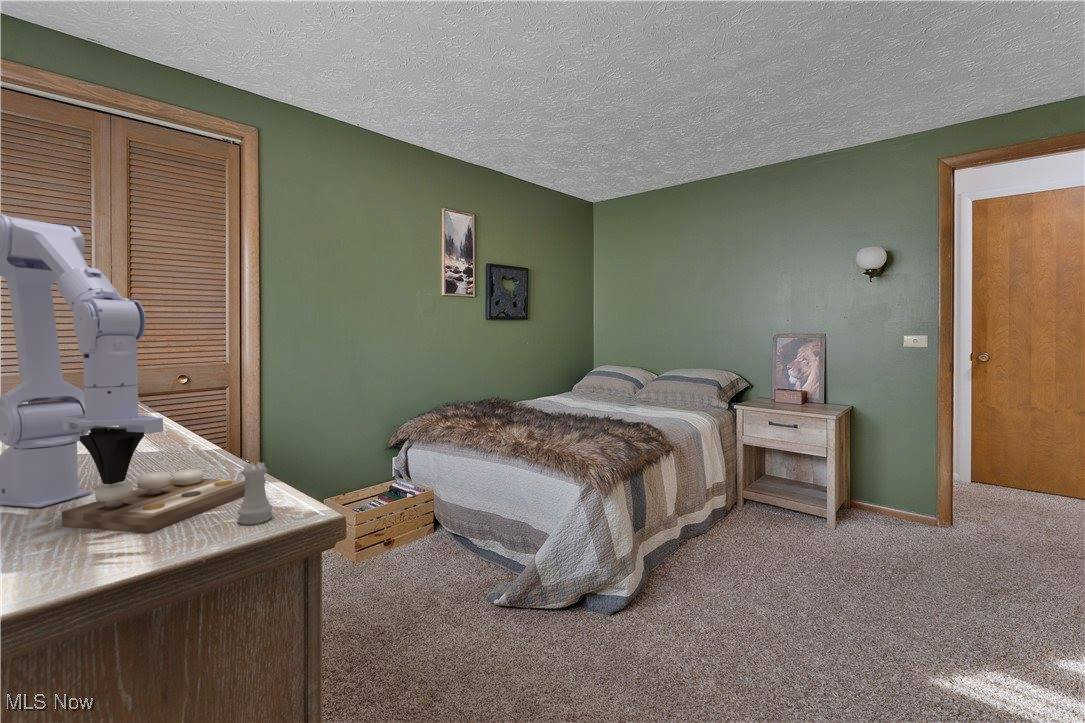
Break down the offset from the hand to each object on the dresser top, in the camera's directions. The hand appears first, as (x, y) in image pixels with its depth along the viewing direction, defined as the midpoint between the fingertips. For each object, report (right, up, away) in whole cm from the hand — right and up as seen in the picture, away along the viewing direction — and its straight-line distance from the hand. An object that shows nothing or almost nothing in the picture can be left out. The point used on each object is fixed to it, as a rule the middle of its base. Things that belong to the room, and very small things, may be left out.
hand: (114, 482), depth 71 cm
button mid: (+1, -3, +6) cm, 7 cm away
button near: (0, -4, 0) cm, 3 cm away
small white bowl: (+2, -4, +12) cm, 13 cm away
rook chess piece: (+19, -6, +1) cm, 20 cm away
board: (+3, -5, +6) cm, 8 cm away
